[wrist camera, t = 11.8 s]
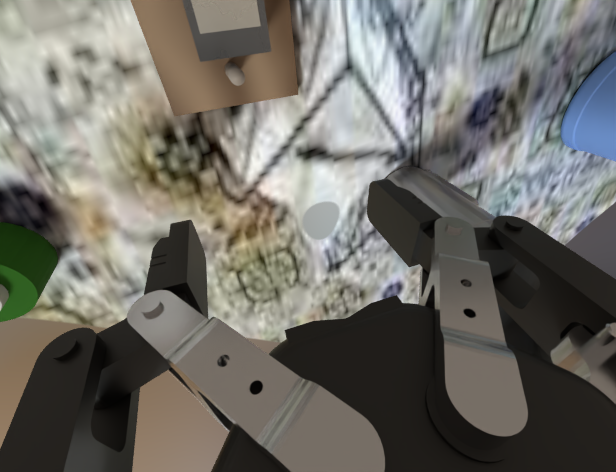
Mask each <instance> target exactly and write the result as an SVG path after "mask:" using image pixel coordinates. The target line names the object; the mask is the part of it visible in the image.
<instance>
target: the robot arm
mask: <svg viewBox="0 0 616 472" xmlns="http://www.w3.org/2000/svg"><path fill="white" fill-rule="evenodd" d="M367 215H368V218H369V221H370V222H371V223H372V225H373V226H374V227H375V228H376V229H377V230H378V232H379V233H380V234H381V235H382V236H383V237H384V239H385V240H386V241H387V242H388V243H389V244H390V246H391V247H392V248H393V249H394V250H395V251H396V253H397V254H398V255H399V256H400V257H401V258H402V260H403V261H404V262H405V263H406V264H407V265H408V266H409V267H411V266H415V265H418V264H420V265H421V266H422V268H421V272H420V287H419V304H410V303H402V302H401V301H400V299H399V298H398V296H397V295H396V296H393V297H389V298H386V299H383V300H380V301H377V302H373V303H371V304H369V305H367V306H366V307H364V308H363V309H361V310H360V311H358V312H356V313H355V314H353V315H352V316H350V317H348V318H346V319H334V320H320V321H312V322H309V323H306V324H303V325H300V326H296V327H293V328H290V329H287V330H285V333H286V338H287V339H286V340H285V341H283V342H282V343H280V344H279V345H278V346H277V347H275V348H274V349H273V350H272V351H271V352H270V353H269V354H267V353H266V352H264V351H263V350H261V349H260V348H259V347H257V346H256V345H255V344H253V343H252V342H250V341H249V340H248V339H246V338H245V337H243V336H242V335H241V334H239V333H238V332H236V331H235V330H234V329H232V328H231V327H229V326H228V325H227V324H225V323H224V322H222V321H221V320H220V319H218V318H216V317H212V318H211V319H210V320H209V319H208V302H207V273H206V258H205V253H204V250H203V247H202V245H201V242H200V240H199V237H198V235H197V232H196V229H195V227H194V225H193V222H192V221H191V220H186V221H181V222H177V223H172V224H171V226H170V234H169V237H166V238H161V239H160V240H159V241H158V242H157V244H156V245H155V246H154V248H153V251H152V256H151V258H152V259H151V261H150V268H149V272H148V277H147V282H146V287H145V292H144V296H142V297H141V298H139V299H138V300H137V301H136V302H135V303H134V304H133V305H132V306H131V308H130V309H129V311H128V314H127V318H126V319H124V320H123V321H121V322H119V323H117V324H115V325H113V326H111V327H109V328H107V329H105V330H104V331H101V332H100V333H97V334H96V333H95V332H94V331H93V330H92V329H90V328H77V329H73V330H71V331H68V332H66V333H64V334H62V335H60V336H59V337H57V338H56V339H54V340H53V341H52V342H51V343H49V345H47V346H46V347H45V349H44V350H43V351H42V352H41V353H40V355H39V357H38V359H37V361H36V363H35V365H34V368H33V371H32V373H31V375H30V378H29V380H28V383H27V385H26V388H25V390H24V393H23V395H22V397H21V400H20V402H19V405H18V407H17V409H16V412H15V414H14V417H13V419H12V422H11V424H10V427H9V429H8V431H7V434H6V436H5V439H4V441H3V444H2V446H1V449H0V472H132V466H133V455H134V445H135V434H136V423H137V412H138V401H139V392H140V387H141V386H143V385H144V384H146V383H147V382H149V381H150V380H152V379H154V378H155V377H157V376H159V375H160V374H161V373H163V372H165V371H167V370H168V371H169V372H170V373H171V374H172V375H173V376H174V377H175V378H176V379H177V380H178V381H179V382H180V383H181V384H182V385H183V386H184V387H185V388H186V389H187V390H188V391H189V392H190V393H191V394H192V395H193V396H194V397H195V398H196V399H197V400H198V401H199V402H200V403H201V404H202V405H203V406H204V407H205V408H206V409H207V410H208V412H209V413H210V414H211V415H212V416H213V417H214V418H215V419H216V420H217V421H218V422H219V423H220V424H221V425H222V426H223V427H224V428H225V429H226V430H227V431H228V432H229V434H228V436H227V438H226V441H225V443H224V445H223V447H222V449H221V451H220V454H219V456H218V458H217V460H216V462H215V464H214V466H213V469H212V471H211V472H616V279H614V278H613V277H611V276H610V275H608V274H607V273H605V272H603V271H602V270H601V269H599V268H598V267H596V266H595V265H593V264H591V263H590V262H588V261H587V260H585V259H584V258H582V257H581V256H579V255H578V254H576V253H575V252H573V251H571V250H570V249H569V248H567V247H566V246H564V245H563V244H561V243H559V242H558V241H556V240H555V239H553V238H552V237H550V236H549V235H547V234H546V233H544V232H543V231H541V230H540V229H538V228H537V227H535V226H534V225H532V224H531V223H529V222H527V221H525V220H523V219H521V218H518V217H514V216H498V217H495V216H493V215H492V214H490V213H488V212H487V211H485V210H484V209H482V208H481V207H479V206H478V201H477V200H476V199H475V198H473V197H472V196H470V195H469V194H467V193H465V192H464V191H462V190H461V189H459V188H457V187H456V186H454V185H453V184H451V183H449V182H448V181H446V180H445V179H443V178H441V177H440V176H438V175H436V174H435V173H433V172H432V171H430V170H427V171H423V170H421V169H420V168H418V167H414V166H408V167H404V168H401V169H399V170H396V171H395V172H393V173H392V174H390V175H389V176H388V177H387V178H386V179H382V180H377V181H373V182H371V183H370V186H369V196H368V206H367Z"/></svg>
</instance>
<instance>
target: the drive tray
mask: <svg viewBox="0 0 616 472" xmlns="http://www.w3.org/2000/svg"><path fill="white" fill-rule="evenodd" d="M131 3H132V5H133V8H134V10H135V13H136V16H137V18H138V21H139V24H140V26H141V29H142V32H143V34H144V37H145V39H146V42H147V45H148V47H149V50H150V53H151V55H152V58H153V61H154V63H155V66H156V68H157V71H158V74H159V76H160V79H161V82H162V84H163V87H164V89H165V92H166V95H167V97H168V100H169V103H170V105H171V108H172V111H173V113H174V116H179V115H184V114H190V113H196V112H201V111H207V110H213V109H219V108H224V107H230V106H236V105H241V104H247V103H253V102H258V101H264V100H270V99H276V98H281V97H287V96H293V95H298V85H297V75H296V64H295V54H294V43H293V33H292V23H291V12H290V2H289V0H264V4H265V11H266V18H267V24H268V31H269V38H270V45H271V52H266V53H259V54H252V55H245V56H238V57H231V58H225V59H218V60H211V61H204V62H200V59H199V56H198V53H197V49H196V46H195V42H194V39H193V36H192V32H191V29H190V25H189V22H188V18H187V15H186V12H185V8H184V5H183V1H182V0H131Z"/></svg>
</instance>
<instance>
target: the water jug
mask: <svg viewBox="0 0 616 472" xmlns="http://www.w3.org/2000/svg"><path fill="white" fill-rule="evenodd" d="M561 138H562V140H563V142H564V144H565V145H567V146H568V147H570V148H573V149H575V150H579V151H586V152H589V153H592V154H595V155H598V156H601V157H604V158H607V159H610V160H613V161H616V51H615V52H614V53H612V54H611V55H610V56H609V57H607V58H606V59H605V60H604V61H603V62H602V63H601V64H599V65H598V66H597V67H596V68H595V70H594V71H593V72H592V73H591V74H590V75H589V76H588V77H587V79H586V80H585V81H584V82H583V84H582V85H581V86H580V88H579V89H578V91H577V92H576V94H575V95H574V97H573V98H572V100H571V102H570V104H569V106H568V108H567V110H566V112H565V115H564V118H563V121H562V125H561Z"/></svg>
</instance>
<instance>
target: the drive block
mask: <svg viewBox="0 0 616 472" xmlns="http://www.w3.org/2000/svg"><path fill="white" fill-rule="evenodd" d="M182 1H183V5H184V8H185V12H186V15H187V18H188V22H189V25H190V29H191V32H192V36H193V39H194V42H195V46H196V49H197V53H198V56H199V59H200V62H204V61H211V60H218V59H225V58H231V57H238V56H245V55H252V54H259V53H266V52H271V45H270V38H269V31H268V24H267V18H266V11H265V4H264V0H182Z"/></svg>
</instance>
